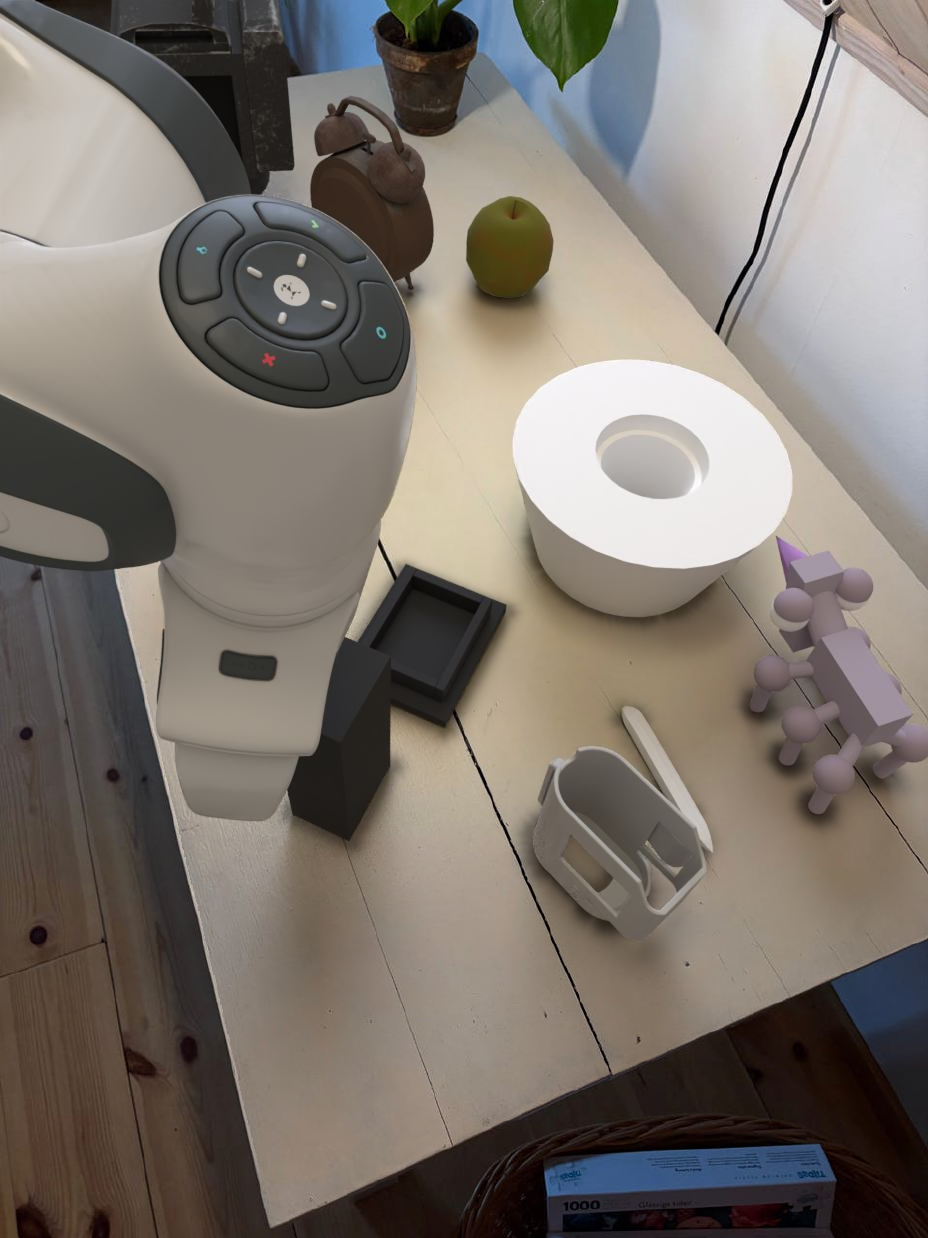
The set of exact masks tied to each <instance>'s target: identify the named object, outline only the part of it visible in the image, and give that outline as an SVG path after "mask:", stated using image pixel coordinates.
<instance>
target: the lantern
mask: <svg viewBox="0 0 928 1238" xmlns="http://www.w3.org/2000/svg"><path fill="white" fill-rule="evenodd" d="M110 10H111V11H110V12H111V13H110V28H109V29H110V30H109V33H111V34H113V35H115V36H117V37H119V38H121V39H123V40H126V41H128V42H130V43H132V44H134V45H136V46H138V47H139V48H141V49H143V50H145V51H147V52H149V53H150V54H152V55H153V56H155V57H157V58H158V59H160V60H161V61H163V62H164V63H166V64H167V65H168V66H169V67H171V68H172V69H173V70H175V71H176V72H177V73H178V74H179V75H180V76H182V77H183V78H184V79H185V80H186V81H187V82H188V83H189V84H190V85H191V86H192V87H193V88H194V89H195V90H196V91H197V92H198V93H199V94H200V95H201V97H202V98H203V99H204V100H205V101H206V103H207V104H208V105H209V106H210V108H211V109H212V110H213V112H214V113H215V115H216V116H217V117H218V119H219V120H220V122H221V123H222V125H223V127H224V128H225V130H226V131H227V133H228V135H229V137H230V139H231V140H232V142H233V144H234V146H235V148H236V150H237V152H238V154H239V156H240V158H241V161H242V163H243V165H244V168H245V171H246V174H247V177H248V181H249V185H250V190H251V195H263V193H264V192H265V191H266V189H267V188H268V185H269V182H270V175H271V174H270V172H292V171H294V169H295V166H296V165H295V153H294V142H293V141H294V140H293V131H292V130H293V129H292V117H291V105H290V94H289V93H290V92H289V81H288V69H287V68H288V67H287V56H286V46H285V45H286V43H285V37H284V31H283V23H282V17H281V16H282V15H281V9H280V2H279V0H111V9H110Z"/></svg>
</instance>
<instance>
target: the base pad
mask: <svg viewBox="0 0 928 1238" xmlns="http://www.w3.org/2000/svg"><path fill="white" fill-rule="evenodd" d="M507 606H508V605H507V604H506V603H504V602H501V601H498V600H496V599H494V598H492V597H489V596H486V595H484V594H481V593H479V592H477V591H474V590H471V589H469V588H466V587H464V586H462V585H460V584H457V583H454V582H452V581H449V580H447V579H445V578H442V577H440V576H437V575H435V574H432V573H430V572H427V571H425V570H423V569H419V568H417V567H415V566H413V565H410V564H408V563H405V564H404V566H403V567H402V569H401V571H400V572H399V574H398V575H397V577H396V579H395V580H394V582H393V583H392V585H391V587H390V588H389V590H388V592H387V594H386V595H385V597H384V598H383V600H382V601H381V603H380V604H379V606H378V608H377V610H376V611H375V612H374V614H373V616H372V618H371V619H370V620H369V623H368V624H367V625H366V628H365V629H364V631H362V633H361V635H360V637H359V638H358V640H357V642H358V643H361V644H363V645H365V646H368V647H370V648H372V649H375V650H377V651H379V652H382V653H384V654H386V655H389V656H391V706H393V707H395V708H398V709H400V710H403V711H404V712H407V713H409V714H412V715H414V716H416V717H419V718H421V719H423V720H425V721H427V722H430V723H432V724H434V725H437V726H438V727H441V728H444V729H445V728H446V727H447V725H448V724H449V722H450V720H451V717H452V715H453V714H454V712H455V710H456V708H457V707H458V704H459V702H460V701H461V699H462V696H463V694H464V692H465V690H466V689H467V686H468V685H469V683H470V681H471V679H472V677H473V675H474V673H475V672H476V670H477V667H478V665H479V664H480V662H481V660H482V658H483V656H484V654H485V653H486V651H487V649H488V646H489V644H490V643H491V641H492V638H493V637H494V635H495V634H496V632H497V629H498V628H499V625H500V623H501V621H502V619H503V618H504V616H505V614H506V612H507V611H506V610H507Z"/></svg>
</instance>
